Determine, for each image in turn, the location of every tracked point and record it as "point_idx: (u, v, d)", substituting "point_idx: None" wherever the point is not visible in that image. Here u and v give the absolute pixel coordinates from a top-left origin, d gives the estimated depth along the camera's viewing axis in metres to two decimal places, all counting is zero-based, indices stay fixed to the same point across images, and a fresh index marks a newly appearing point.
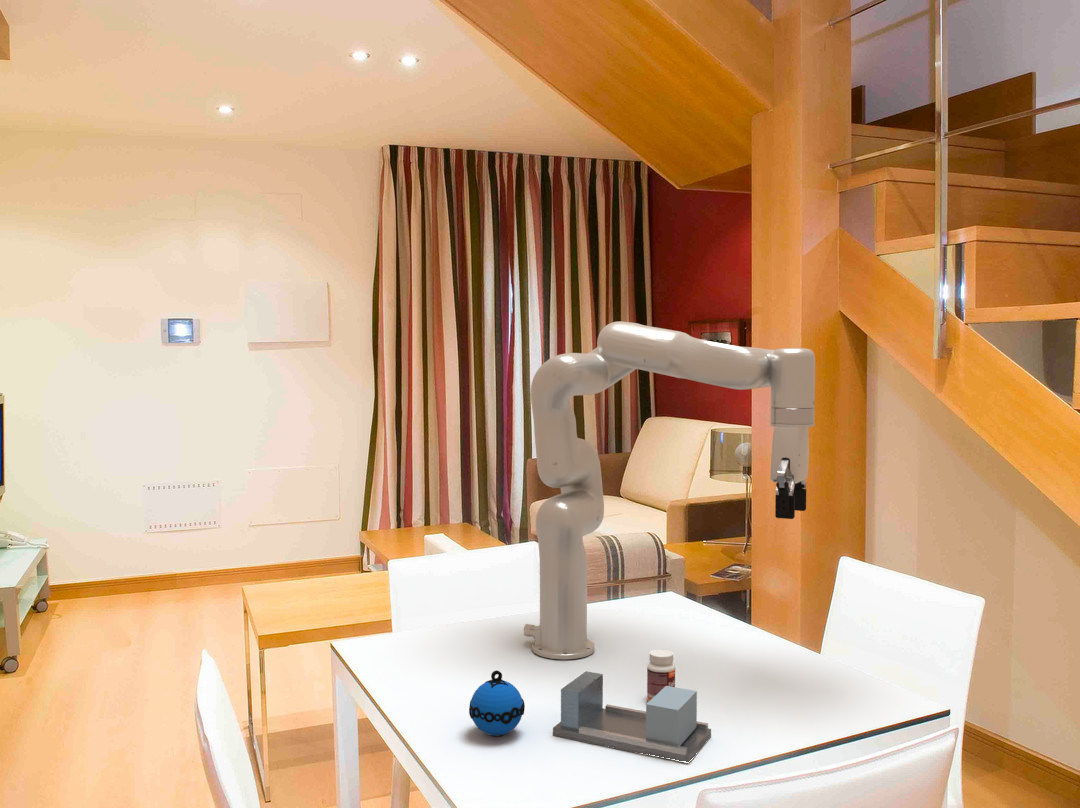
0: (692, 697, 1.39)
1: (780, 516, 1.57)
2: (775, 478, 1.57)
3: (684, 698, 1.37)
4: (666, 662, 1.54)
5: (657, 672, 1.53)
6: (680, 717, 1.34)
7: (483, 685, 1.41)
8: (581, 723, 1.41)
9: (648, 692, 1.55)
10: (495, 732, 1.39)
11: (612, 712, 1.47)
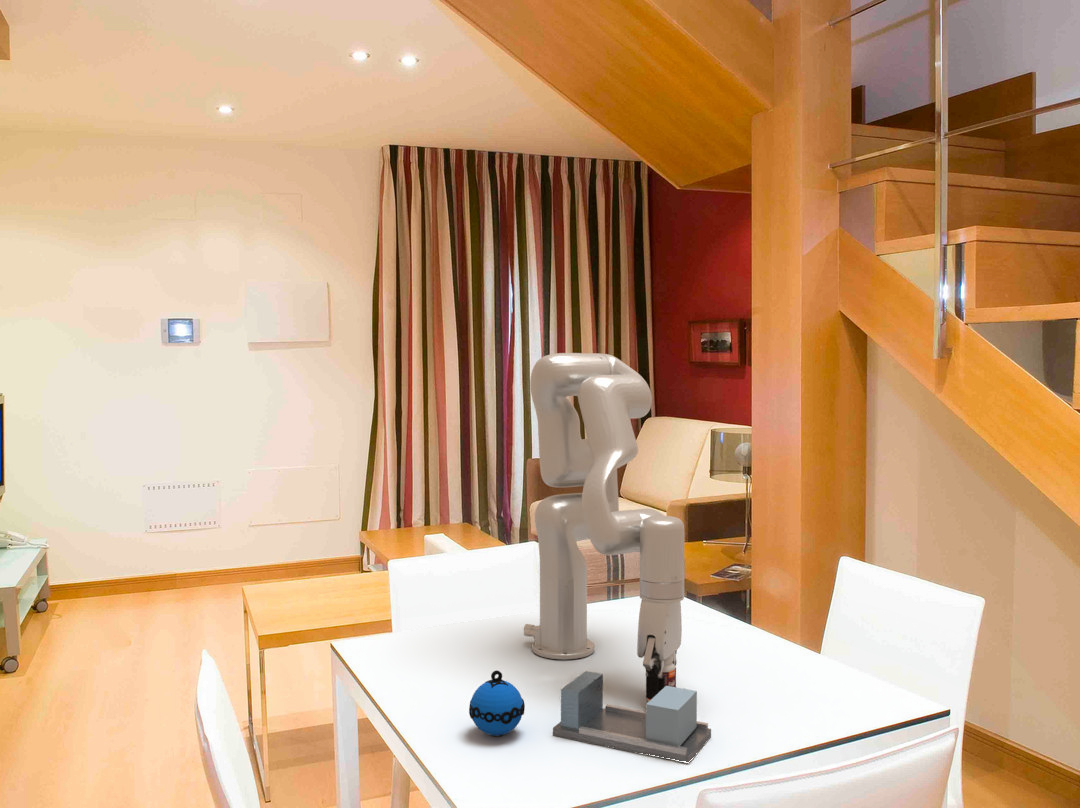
0: (692, 697, 1.39)
1: (650, 697, 1.53)
2: (641, 655, 1.52)
3: (684, 698, 1.37)
4: (666, 662, 1.54)
5: None
6: (680, 717, 1.34)
7: (483, 685, 1.41)
8: (581, 723, 1.41)
9: None
10: (495, 732, 1.39)
11: (612, 712, 1.47)
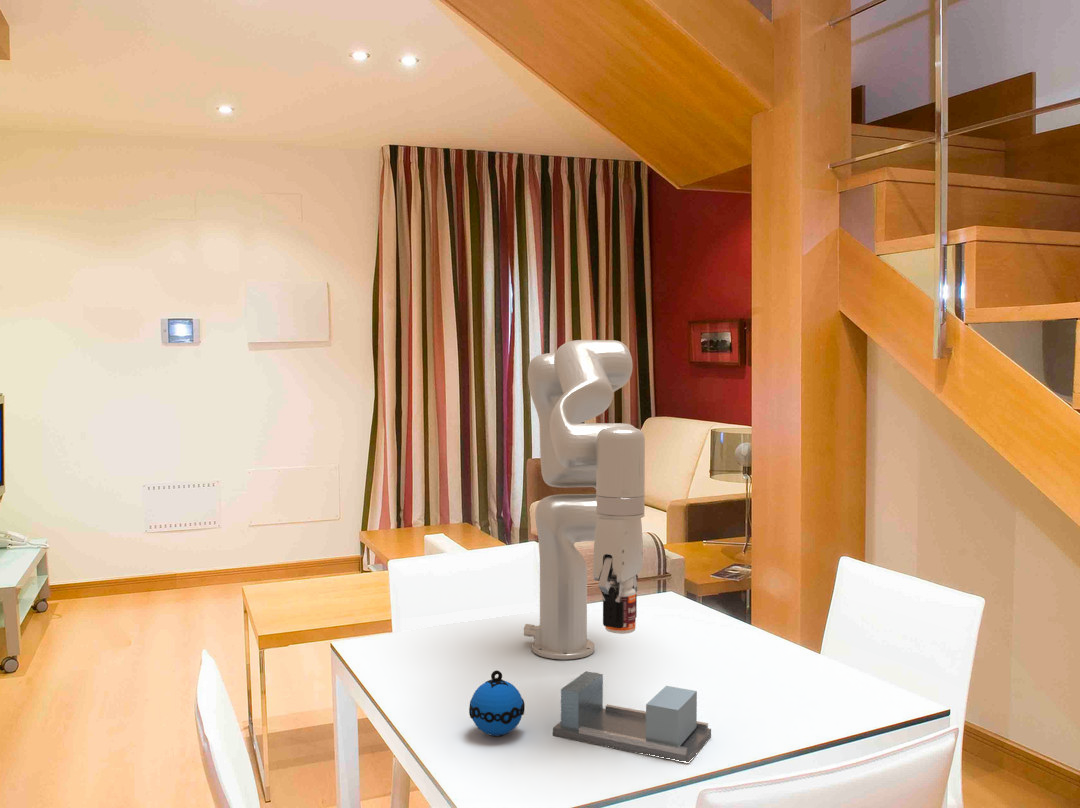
0: (692, 697, 1.39)
1: (608, 624, 1.40)
2: (597, 577, 1.38)
3: (684, 698, 1.37)
4: (626, 585, 1.40)
5: None
6: (680, 717, 1.34)
7: (483, 685, 1.41)
8: (581, 723, 1.41)
9: None
10: (495, 732, 1.39)
11: (612, 712, 1.47)
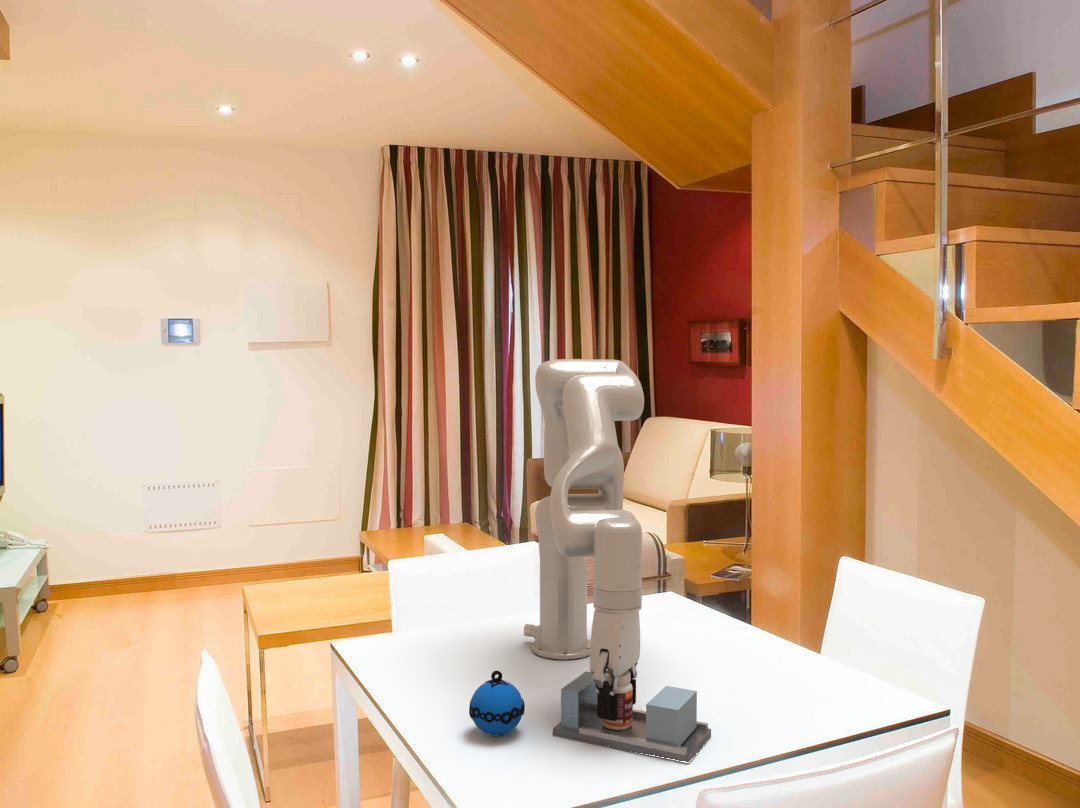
0: (692, 697, 1.39)
1: (602, 716, 1.39)
2: (594, 670, 1.38)
3: (684, 698, 1.37)
4: (622, 682, 1.40)
5: None
6: (680, 717, 1.34)
7: (483, 685, 1.41)
8: (581, 723, 1.41)
9: None
10: (495, 732, 1.39)
11: None
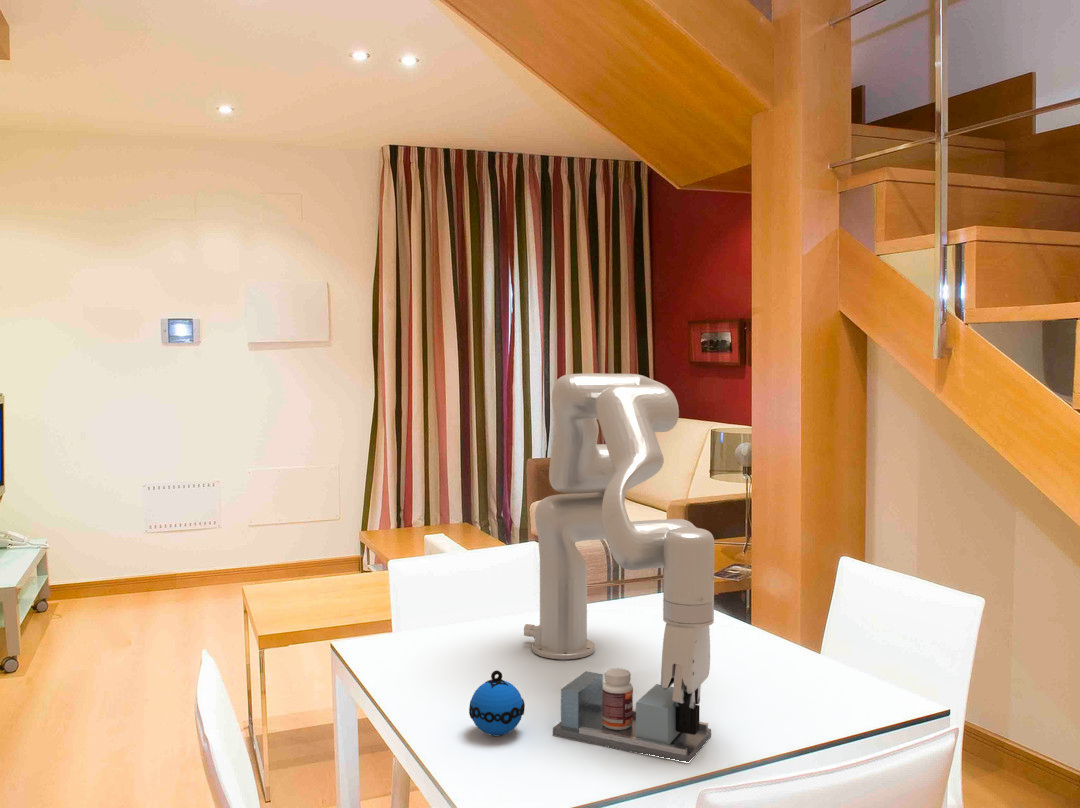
0: None
1: (681, 730, 1.37)
2: (666, 687, 1.33)
3: None
4: (622, 682, 1.40)
5: (612, 693, 1.40)
6: (670, 715, 1.35)
7: (483, 685, 1.41)
8: (581, 723, 1.41)
9: (603, 715, 1.42)
10: (495, 732, 1.39)
11: None
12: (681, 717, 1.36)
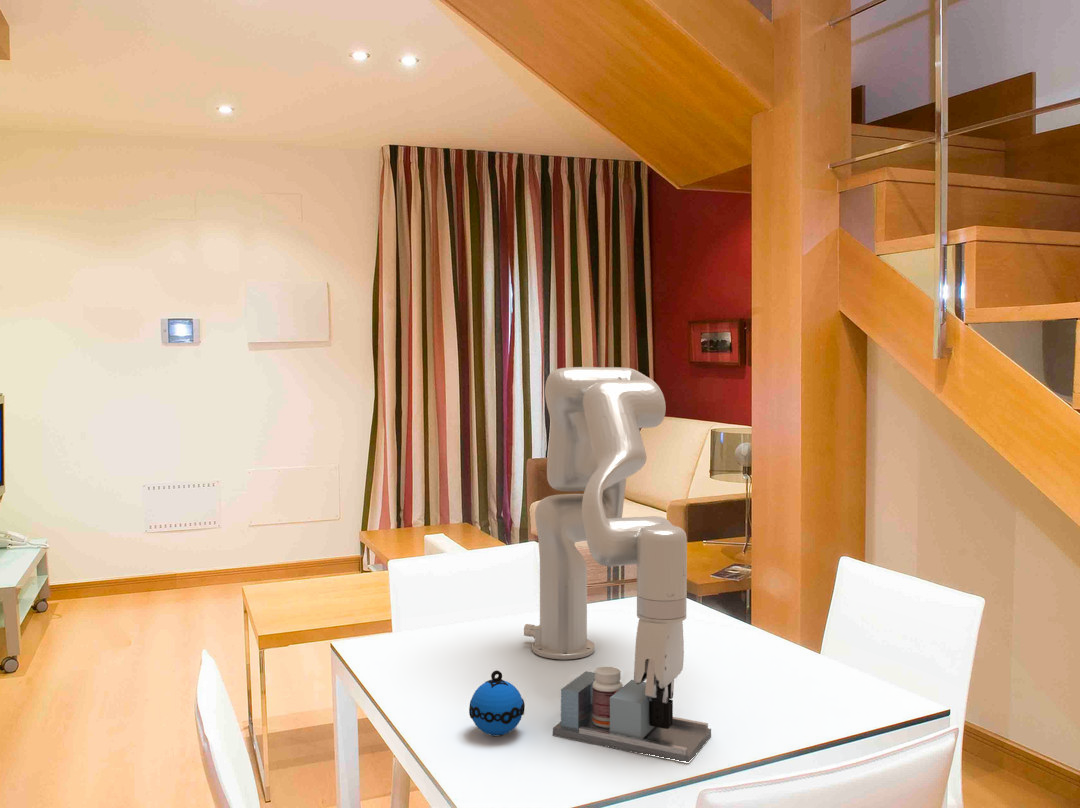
0: None
1: (654, 724, 1.38)
2: (639, 681, 1.35)
3: None
4: (612, 680, 1.41)
5: (602, 692, 1.41)
6: (643, 710, 1.37)
7: (483, 685, 1.41)
8: (581, 723, 1.41)
9: (593, 713, 1.43)
10: (495, 732, 1.39)
11: None
12: (654, 712, 1.38)
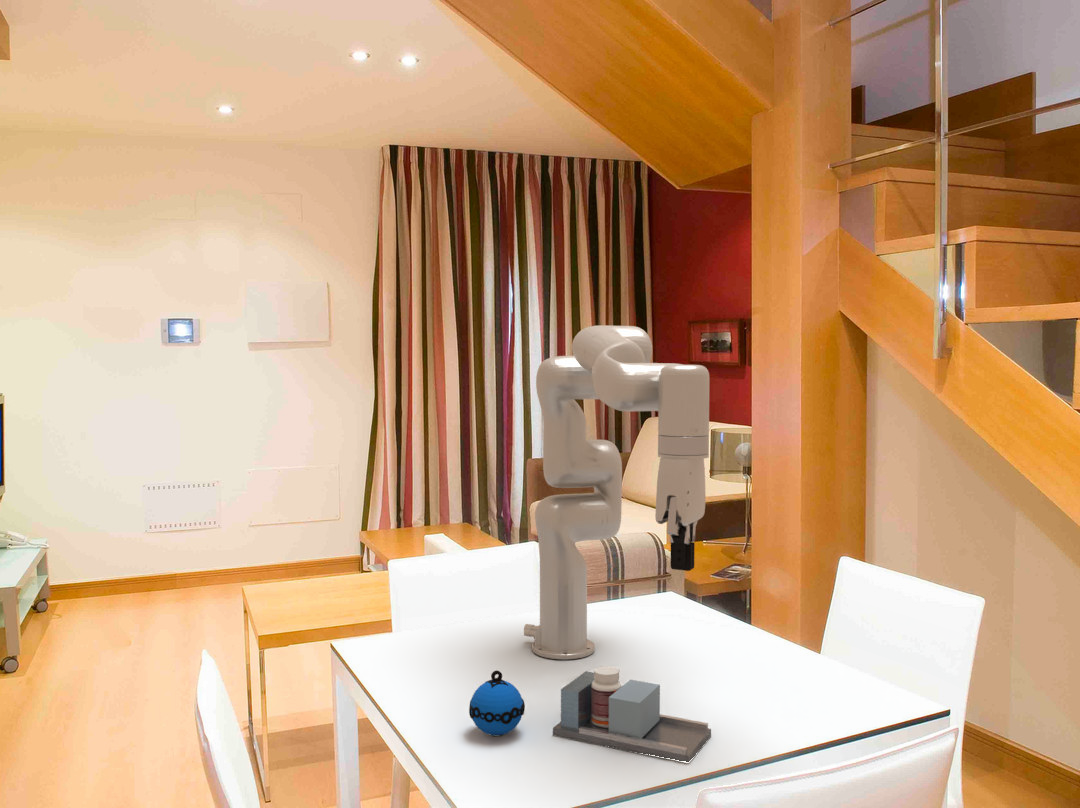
0: (655, 691, 1.42)
1: (676, 567, 1.36)
2: (660, 519, 1.32)
3: (646, 691, 1.40)
4: (611, 680, 1.41)
5: (601, 691, 1.41)
6: (642, 710, 1.37)
7: (483, 685, 1.41)
8: (581, 723, 1.41)
9: (592, 713, 1.43)
10: (495, 732, 1.39)
11: None
12: (676, 553, 1.35)
